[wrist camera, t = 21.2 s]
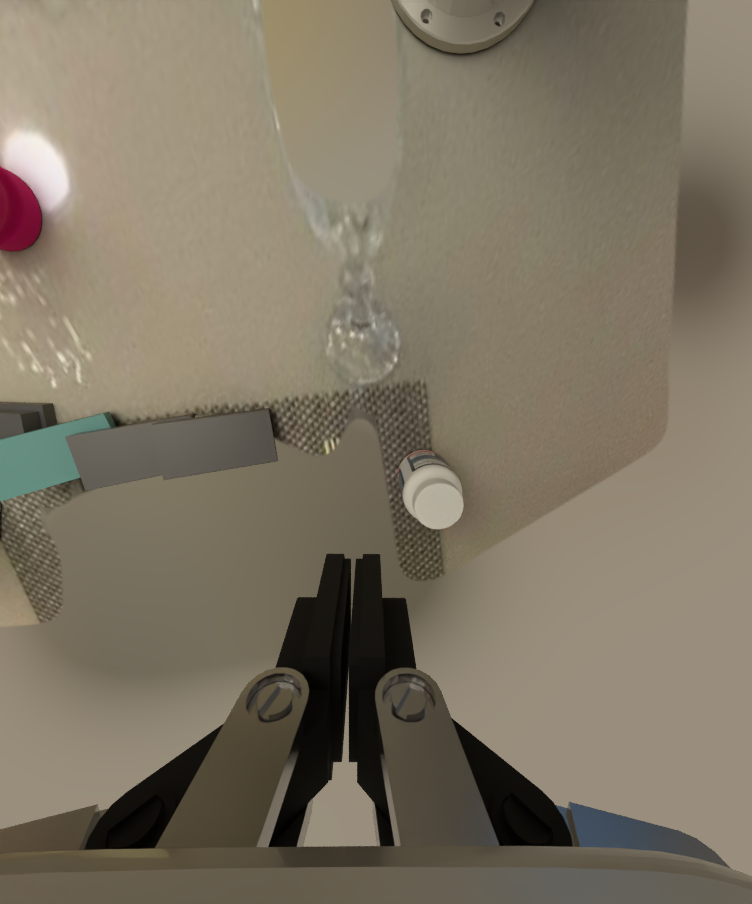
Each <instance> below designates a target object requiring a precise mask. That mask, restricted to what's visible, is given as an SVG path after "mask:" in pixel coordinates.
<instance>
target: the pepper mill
mask: <svg viewBox="0 0 752 904" xmlns="http://www.w3.org/2000/svg"><path fill="white" fill-rule="evenodd" d="M40 228H41V212H40V208H39V204H38V202H37V200H36V198H35V196H34V194H33V193H32V191H31V190H30V188H29V187H28V186H27V185H26V183H25V182H24V181H22V180H21V179H20V178H19V177H18V176H16V175H15V174H13V173H11V172H10V171H8V170H6V169H4V168H2V167H0V249H1V250H5V251H19V250H23V249H25V248H27V247H28V246H30V245H31V244H33V243H34V241H35V240H36V238H37V237H38V235H39V232H40Z"/></svg>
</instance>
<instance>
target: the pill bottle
mask: <svg viewBox="0 0 752 904" xmlns="http://www.w3.org/2000/svg"><path fill="white" fill-rule="evenodd" d="M397 476H398V483H399V487H400V491H401V495H402V498H403V502H404V504H405V506H406V508H407V510H408V511H409V512H410V514H411V515H413V516H414V517H415V518H417V519H418V520H419V521H420V522H421V523H422V524H423V525H424V526H426V527H428V528H431V529H444V528H447V527H450V526H451V525H453V524H454V523H456V522H457V521H458V519H459V518H460V516H461V515H462V512H463V508H464V502H463V498H462V486H461V483H460V481H459V479H458V477H457V476H456V474H455V473H454V472H453V471H452V469H451V468H450V467H449V466H448V464H447V463H446V462H445V461H444V459H443V458H442V457H441V456H440V455H438V454H437V453H435V452H433V451H429V450H419V451H415V452H413V453H411V454H409V455H408V456H407V457H405V458H404V460H403V461H402V462H401V464H400V466H399V469H398V475H397Z"/></svg>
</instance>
